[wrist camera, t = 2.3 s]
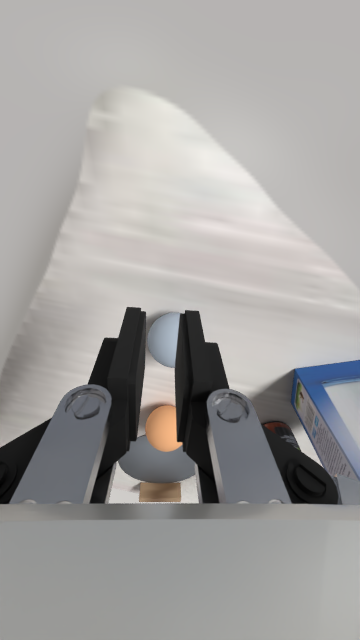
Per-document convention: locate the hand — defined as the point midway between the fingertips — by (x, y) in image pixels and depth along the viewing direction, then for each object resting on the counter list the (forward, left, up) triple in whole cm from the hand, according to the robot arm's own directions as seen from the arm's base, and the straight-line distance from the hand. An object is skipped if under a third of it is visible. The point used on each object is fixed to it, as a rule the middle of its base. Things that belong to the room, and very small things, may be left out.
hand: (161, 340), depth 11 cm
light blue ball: (-1, +9, -12) cm, 15 cm away
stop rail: (-1, +43, -15) cm, 45 cm away
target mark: (-1, +35, -15) cm, 38 cm away
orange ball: (-1, +23, -12) cm, 26 cm away
